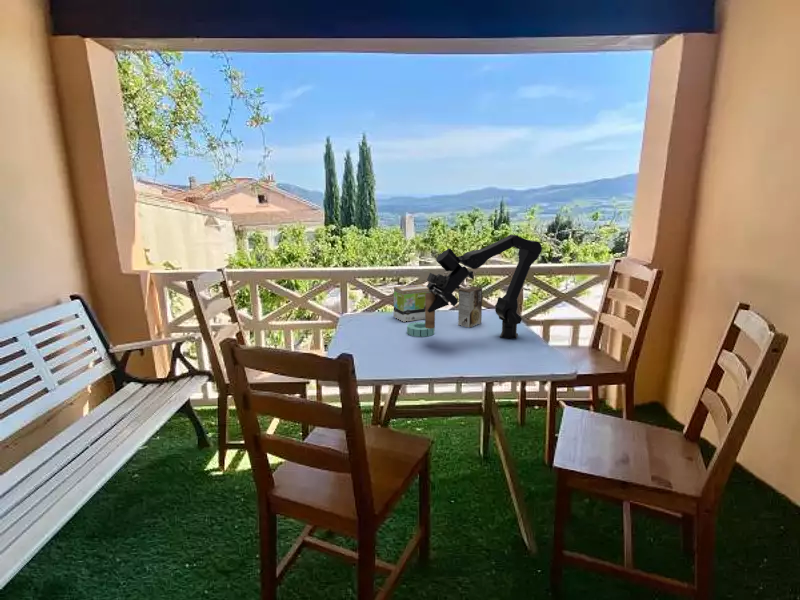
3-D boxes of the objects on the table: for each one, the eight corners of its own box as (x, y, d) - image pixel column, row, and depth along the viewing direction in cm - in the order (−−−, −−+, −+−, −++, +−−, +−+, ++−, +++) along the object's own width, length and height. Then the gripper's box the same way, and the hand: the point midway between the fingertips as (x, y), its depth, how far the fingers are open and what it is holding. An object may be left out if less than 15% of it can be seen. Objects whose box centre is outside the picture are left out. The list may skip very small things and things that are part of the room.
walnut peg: (426, 325, 175) (426, 292, 172) (435, 326, 173) (436, 292, 170) (424, 328, 171) (424, 294, 168) (433, 328, 170) (433, 294, 167)
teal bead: (412, 328, 196) (412, 321, 195) (437, 330, 192) (437, 323, 191) (403, 335, 185) (403, 328, 185) (430, 338, 182) (430, 330, 181)
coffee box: (469, 321, 205) (470, 285, 202) (481, 323, 201) (483, 287, 197) (457, 325, 199) (458, 289, 195) (469, 328, 195) (470, 291, 191)
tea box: (403, 323, 203) (403, 290, 200) (393, 317, 212) (392, 286, 209) (432, 318, 210) (432, 287, 207) (421, 313, 219) (421, 283, 216)
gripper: (431, 261, 177) (404, 291, 176) (450, 269, 159) (420, 302, 159) (450, 280, 181) (423, 309, 180) (470, 289, 163) (441, 322, 163)
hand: (426, 310), depth 171 cm, fingers closed on walnut peg, 4 cm apart
